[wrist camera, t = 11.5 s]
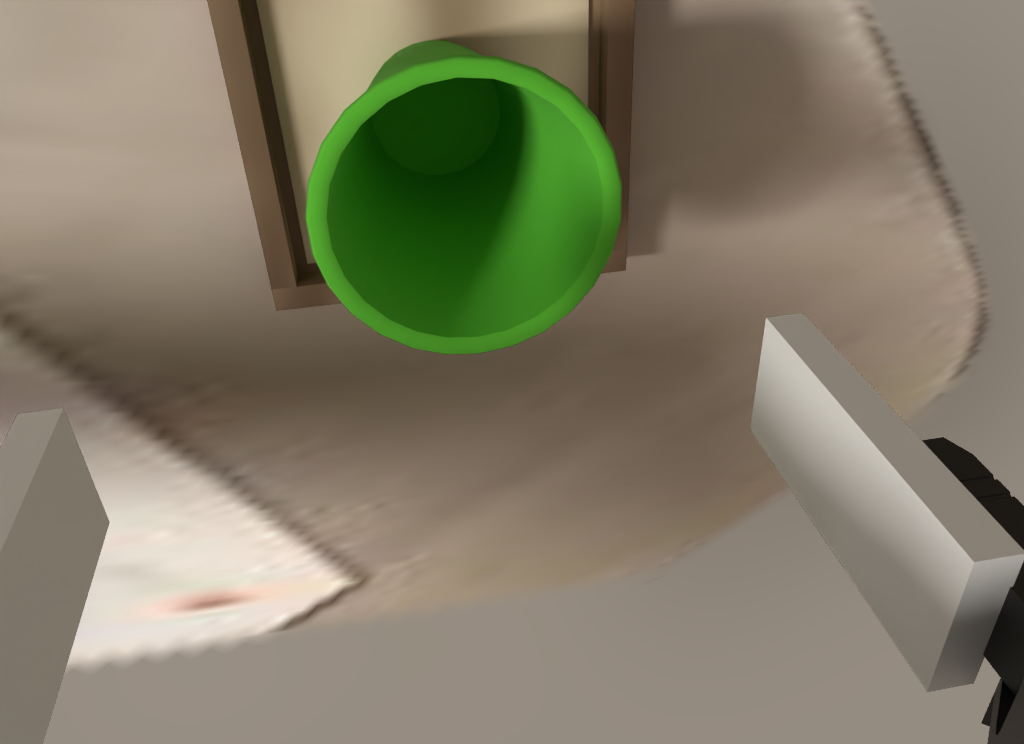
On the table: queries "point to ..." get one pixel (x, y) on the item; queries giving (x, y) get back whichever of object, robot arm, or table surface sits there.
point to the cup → (463, 201)
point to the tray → (353, 65)
